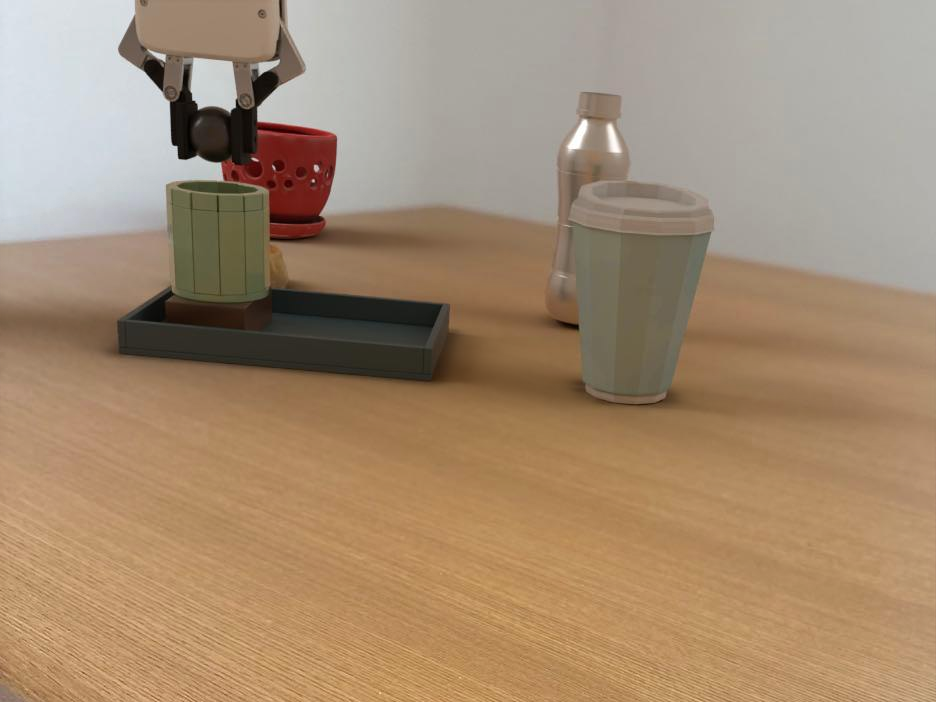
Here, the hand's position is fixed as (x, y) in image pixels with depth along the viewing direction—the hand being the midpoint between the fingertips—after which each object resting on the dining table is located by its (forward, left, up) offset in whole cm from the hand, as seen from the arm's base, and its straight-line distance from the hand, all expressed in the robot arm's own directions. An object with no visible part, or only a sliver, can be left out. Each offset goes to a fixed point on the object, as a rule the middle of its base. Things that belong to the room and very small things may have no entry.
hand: (215, 158), depth 85 cm
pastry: (-3, +18, -14) cm, 23 cm away
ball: (0, 0, +2) cm, 2 cm away
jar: (0, 0, -10) cm, 10 cm away
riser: (0, 0, -14) cm, 14 cm away
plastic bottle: (+29, +15, -14) cm, 36 cm away
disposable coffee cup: (+32, -6, -14) cm, 35 cm away
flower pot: (-6, +47, -14) cm, 49 cm away
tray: (+6, 0, -14) cm, 15 cm away
